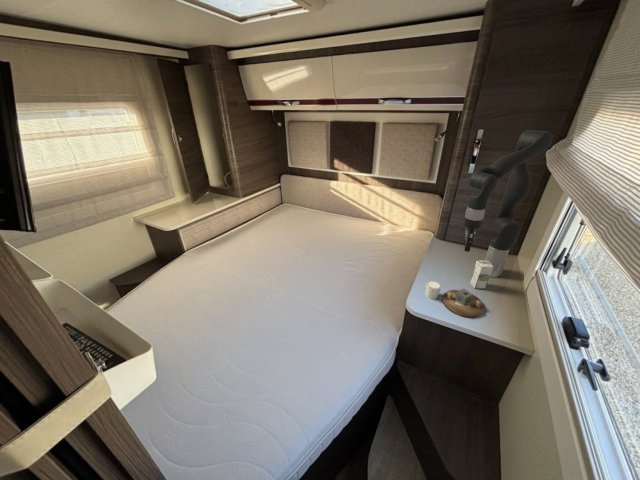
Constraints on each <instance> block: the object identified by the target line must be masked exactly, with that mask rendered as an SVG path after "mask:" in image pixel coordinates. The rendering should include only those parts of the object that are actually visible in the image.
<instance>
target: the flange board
mask: <svg viewBox="0 0 640 480" xmlns="http://www.w3.org/2000/svg"><path fill="white" fill-rule="evenodd" d="M460 290H461V289H450V290H447V291H446V292H444V293H443V295H442V299H441V300H442V304H443V306H444V307H445V308H446V309H447V310H448V311H449V312H451V313H452V314H454V315H457V316H459V317H463V318H466V319H467V318H469V319H472V318H474V319H475V318H478V317H480V316H482V315H483V313H484V311H485V305H484V303H483V302H482V300H481V299H480V298H478V297H477V295H475V294H473V296H472V299H471V303H469V304H467V305H465V306H463V305H461V304H460V303H458V302H457V301H456V300H455V296H456V293H457V291H460Z"/></svg>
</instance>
